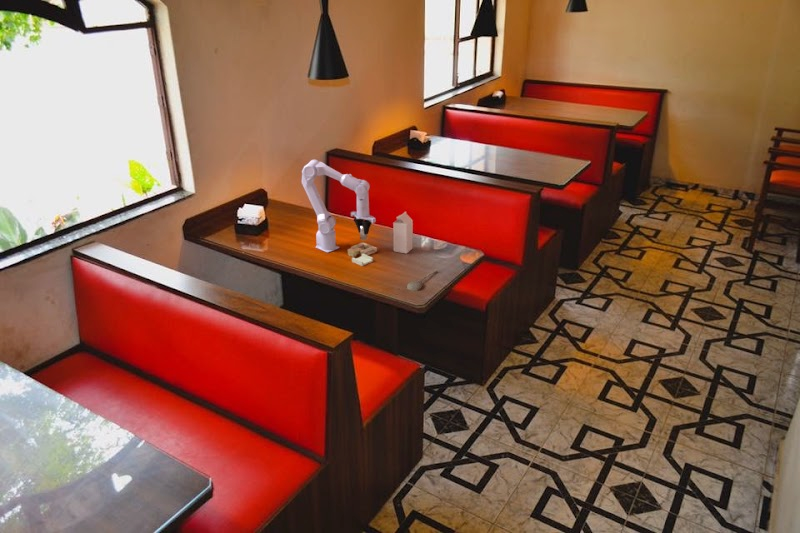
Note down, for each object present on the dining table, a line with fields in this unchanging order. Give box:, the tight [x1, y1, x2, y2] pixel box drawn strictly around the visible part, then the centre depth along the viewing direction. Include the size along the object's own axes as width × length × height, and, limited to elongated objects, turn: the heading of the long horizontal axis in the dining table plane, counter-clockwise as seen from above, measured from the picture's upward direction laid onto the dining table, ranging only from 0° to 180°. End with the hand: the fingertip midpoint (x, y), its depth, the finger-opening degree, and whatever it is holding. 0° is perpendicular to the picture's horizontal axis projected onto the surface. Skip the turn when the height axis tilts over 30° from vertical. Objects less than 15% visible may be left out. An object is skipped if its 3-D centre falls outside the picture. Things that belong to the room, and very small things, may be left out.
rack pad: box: [351, 254, 374, 267], centre depth 296 cm, size 7×7×2 cm
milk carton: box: [392, 211, 414, 254], centre depth 304 cm, size 7×7×19 cm
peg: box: [359, 224, 368, 241], centre depth 303 cm, size 3×3×7 cm
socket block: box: [350, 241, 378, 256], centre depth 307 cm, size 10×8×2 cm
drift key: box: [347, 247, 363, 258], centre depth 303 cm, size 4×6×3 cm, turn 136°
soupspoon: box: [406, 269, 439, 292], centre depth 278 cm, size 22×3×7 cm
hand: (363, 233), depth 304 cm, fingers closed on peg, 3 cm apart
